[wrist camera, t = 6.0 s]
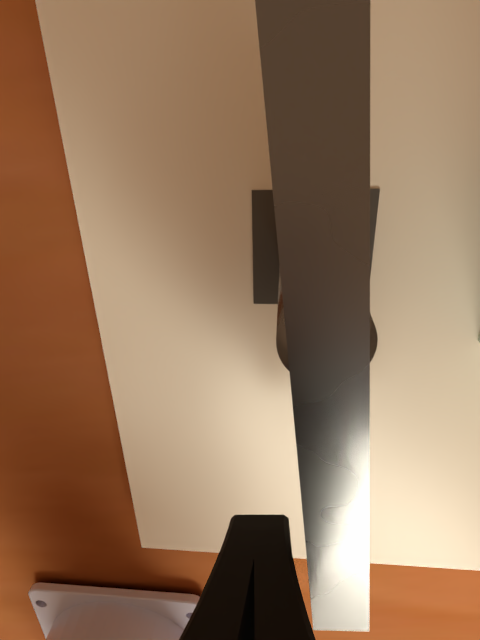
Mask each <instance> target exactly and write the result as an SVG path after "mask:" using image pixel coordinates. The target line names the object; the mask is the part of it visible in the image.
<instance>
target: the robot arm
mask: <svg viewBox="0 0 480 640" xmlns="http://www.w3.org/2000/svg"><path fill="white" fill-rule="evenodd" d="M28 594H29V597H30V600H31V602H32V605H33V607H34V610H35V613H36V615H37V618H38V620H39V623H40V625H41V628H42V630H43V633H44V635H45V638H46V640H315V637H314V634H313V631H312V628H311V624H310V621H309V618H308V615H307V611H306V608H305V604H304V601H303V597H302V594H301V590H300V587H299V583H298V579H297V575H296V570H295V565H294V561H293V556H292V548H291V538H290V527H289V518H288V517H286V516H285V515H234V516H233V517H232V518H231V520H230V523H229V527H228V530H227V533H226V536H225V539H224V542H223V544H222V547H221V550H220V552H219V555H218V557H217V560H216V562H215V565H214V567H213V569H212V572H211V574H210V576H209V579H208V581H207V583H206V585H205V587H204V590H203V592H202V594H201V596H200V597H199V596H197V595H194V594H184V593H172V592H159V591H146V590H133V589H120V588H107V587H94V586H81V585H68V584H55V583H42V582H38V583H35V584H33V585H32V587H31V589H30V591H29V593H28Z"/></svg>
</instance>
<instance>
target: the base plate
mask: <svg viewBox="0 0 480 640" xmlns="http://www.w3.org/2000/svg"><path fill="white" fill-rule="evenodd" d="M35 2H36V8H37V13H38V18H39V23H40V28H41V33H42V38H43V43H44V49H45V54H46V59H47V64H48V69H49V74H50V79H51V85H52V90H53V95H54V100H55V105H56V110H57V115H58V120H59V126H60V131H61V136H62V141H63V146H64V151H65V156H66V162H67V167H68V172H69V177H70V182H71V187H72V192H73V198H74V203H75V208H76V213H77V218H78V223H79V228H80V233H81V239H82V244H83V249H84V254H85V259H86V264H87V269H88V275H89V280H90V285H91V290H92V295H93V300H94V305H95V310H96V316H97V321H98V326H99V331H100V336H101V341H102V346H103V352H104V357H105V362H106V367H107V372H108V377H109V382H110V387H111V393H112V398H113V403H114V408H115V413H116V418H117V423H118V429H119V434H120V439H121V444H122V449H123V454H124V459H125V464H126V470H127V475H128V480H129V485H130V490H131V495H132V500H133V506H134V511H135V516H136V521H137V526H138V531H139V536H140V541H141V547H142V548H155V549H170V550H184V551H199V552H214V553H219V552H220V550H221V547H222V544H223V542H224V539H225V536H226V533H227V530H228V527H229V523H230V520H231V518H232V517H233V516H234V515H285V516H286V517H288V518H289V527H290V538H291V548H292V556H293V558H302V559H307V555H306V544H305V533H304V523H303V512H302V501H301V490H300V479H299V469H298V458H297V447H296V436H295V426H294V415H293V404H292V393H291V383H290V372H289V371H288V370H287V368H286V367H285V366H284V365H283V363H282V362H281V360H280V358H279V356H278V353H277V348H276V331H277V309H278V288H279V266H280V264H279V253H278V243H277V232H276V221H275V210H274V200H273V189H272V178H271V167H270V157H269V146H268V135H267V124H266V113H265V103H264V92H263V81H262V70H261V60H260V49H259V38H258V27H257V17H256V6H255V0H35ZM370 314H371V316H372V319H373V322H374V324H375V327H376V331H377V337H378V342H377V349H376V352H375V355H374V357H373V359H372V360H371V362H370V518H369V563H376V564H391V565H405V566H420V567H435V568H450V569H464V570H479V571H480V342H479V341H478V336H479V332H480V0H370Z"/></svg>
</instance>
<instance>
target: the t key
mask: <svg viewBox="0 0 480 640" xmlns="http://www.w3.org/2000/svg"><path fill="white" fill-rule="evenodd" d="M255 6H256V17H257V27H258V38H259V49H260V60H261V70H262V81H263V92H264V103H265V113H266V124H267V135H268V146H269V157H270V167H271V178H272V189H273V200H274V210H275V221H276V232H277V243H278V253H279V264H280V266H279V288H278V309H277V331H276V348H277V353H278V356H279V358H280V360H281V362H282V363H283V365H284V366H285V367H286V368H287V370H288V371H289V372H290V383H291V393H292V404H293V415H294V426H295V436H296V447H297V458H298V469H299V479H300V490H301V501H302V512H303V523H304V533H305V544H306V555H307V566H308V576H309V587H310V598H311V609H312V619H313V630H331V631H369V518H370V362H371V360H372V359H373V357H374V355H375V352H376V349H377V342H378V337H377V331H376V327H375V324H374V322H373V319H372V316H371V314H370V0H255Z"/></svg>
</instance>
